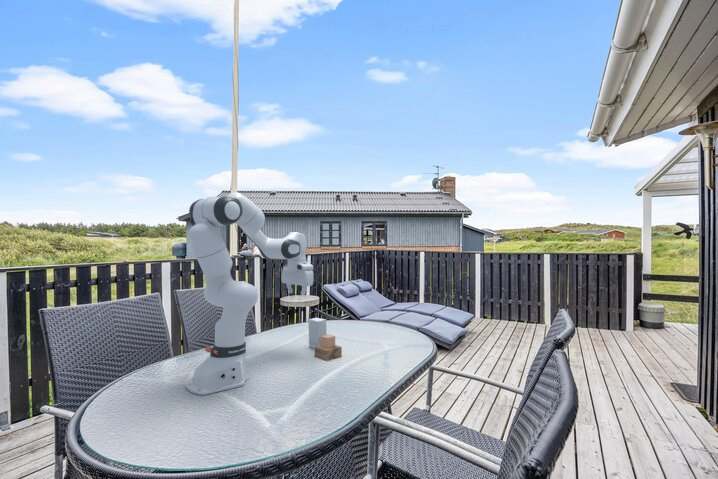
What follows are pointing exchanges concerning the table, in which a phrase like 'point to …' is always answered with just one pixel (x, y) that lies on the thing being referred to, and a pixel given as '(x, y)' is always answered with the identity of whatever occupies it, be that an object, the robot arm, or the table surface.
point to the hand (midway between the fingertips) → (296, 293)
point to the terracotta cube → (327, 341)
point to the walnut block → (328, 352)
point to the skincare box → (316, 331)
